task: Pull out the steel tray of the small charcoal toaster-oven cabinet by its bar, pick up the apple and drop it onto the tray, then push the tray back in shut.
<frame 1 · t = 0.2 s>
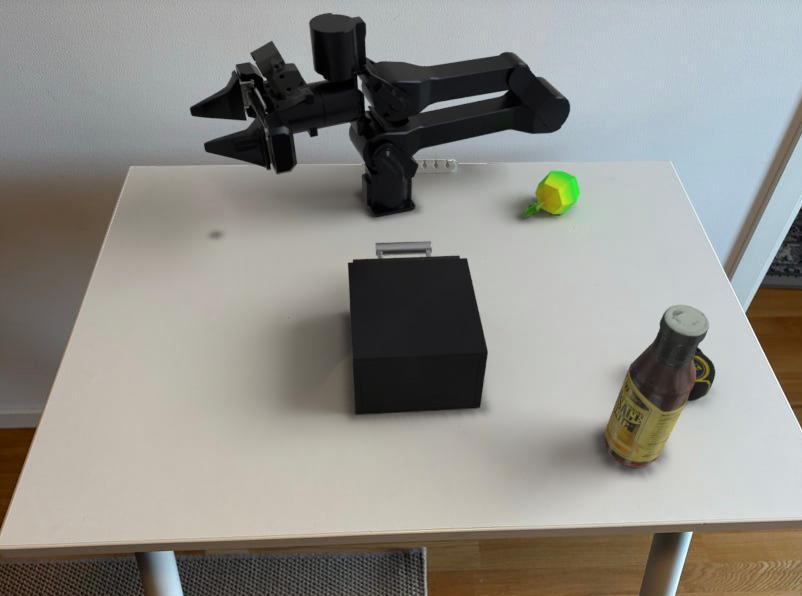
hand: (197, 129, 92), 17 cm above the table, tool horizontal, fingers open, 9 cm apart
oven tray: (409, 306, 89), point 5 cm above the table, slide at 0.5 cm
tape measure: (672, 382, 88), on the table
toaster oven: (411, 361, 89), on the table
sauce bottle: (630, 450, 81), on the table
apple: (550, 213, 111), on the table
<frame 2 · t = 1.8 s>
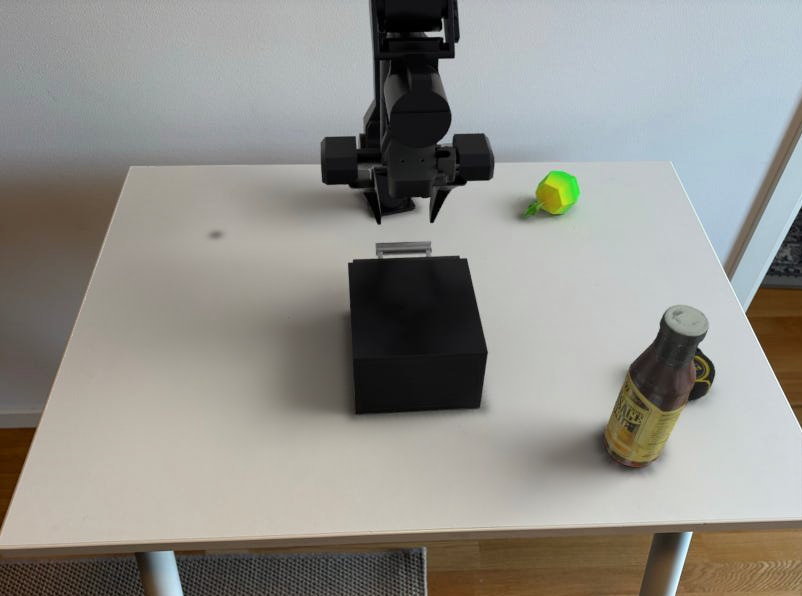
hand: (405, 222, 88), 12 cm above the table, tool pointing down, fingers open, 6 cm apart
nothing on the table moved.
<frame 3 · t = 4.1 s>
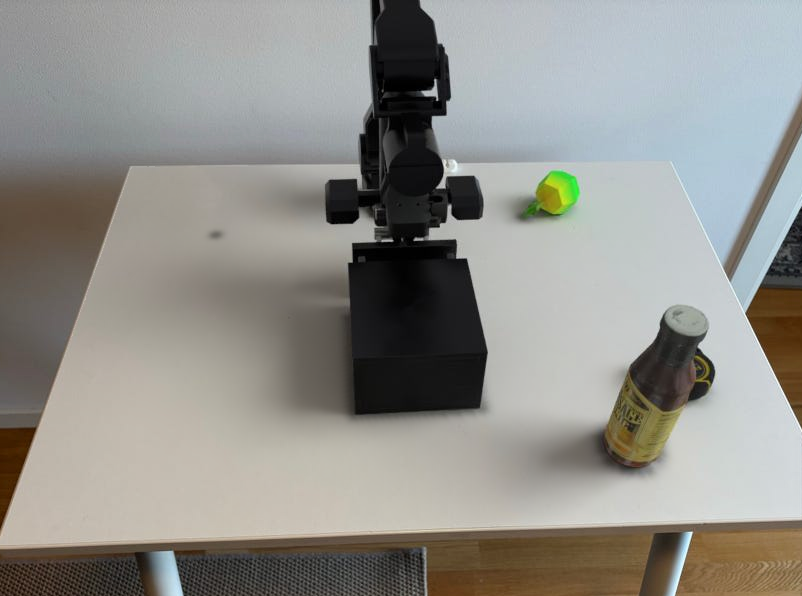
hand: (402, 254, 96), 4 cm above the table, tool pointing down, fingers closed, pressing on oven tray
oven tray: (407, 289, 91), point 5 cm above the table, slide at 3.7 cm, touching gripper
everything else where it was.
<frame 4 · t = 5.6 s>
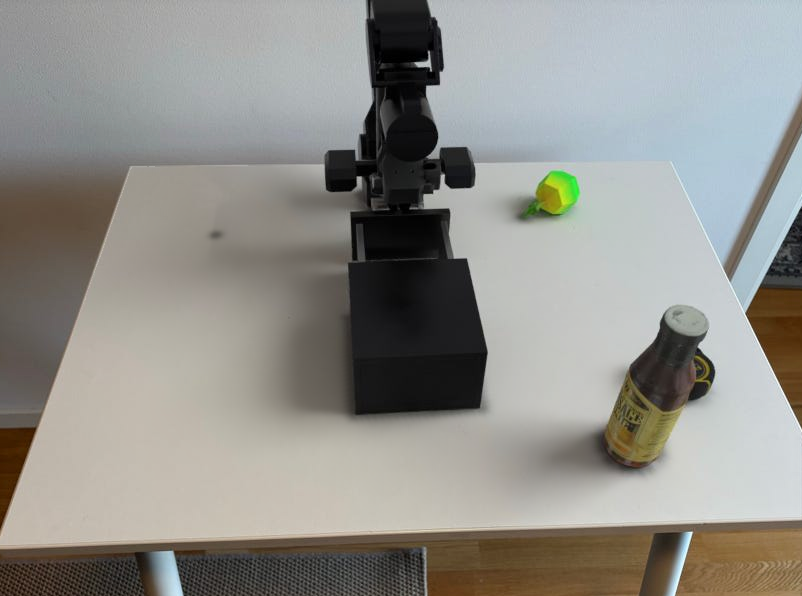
hand: (398, 224, 100), 4 cm above the table, tool pointing down, fingers closed, pressing on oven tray
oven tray: (402, 255, 95), point 5 cm above the table, slide at 10.3 cm, touching gripper
everything else where it was.
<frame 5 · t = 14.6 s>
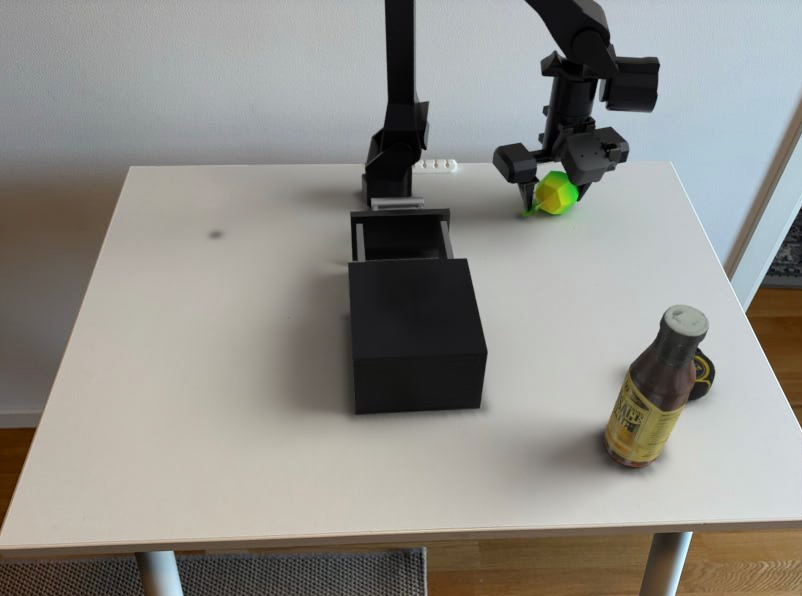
hand: (552, 205, 110), 1 cm above the table, tool pointing down, fingers closed on apple, 8 cm apart
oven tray: (402, 255, 95), point 5 cm above the table, slide at 10.3 cm
apple: (549, 213, 111), on the table, touching gripper
everything else where it was.
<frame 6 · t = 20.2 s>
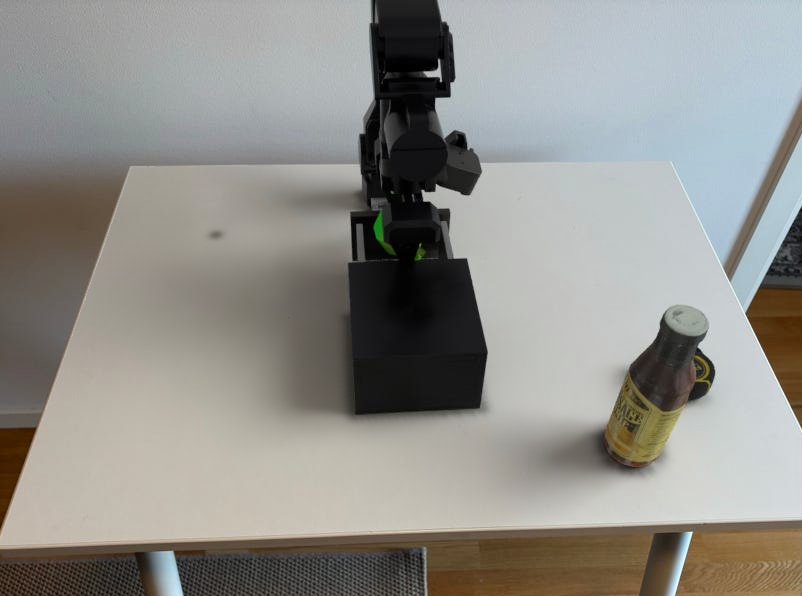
hand: (404, 244, 92), 7 cm above the table, tool pointing down, fingers closed on apple, 8 cm apart
apple: (404, 254, 93), point 6 cm above the table, touching gripper
everything else where it was.
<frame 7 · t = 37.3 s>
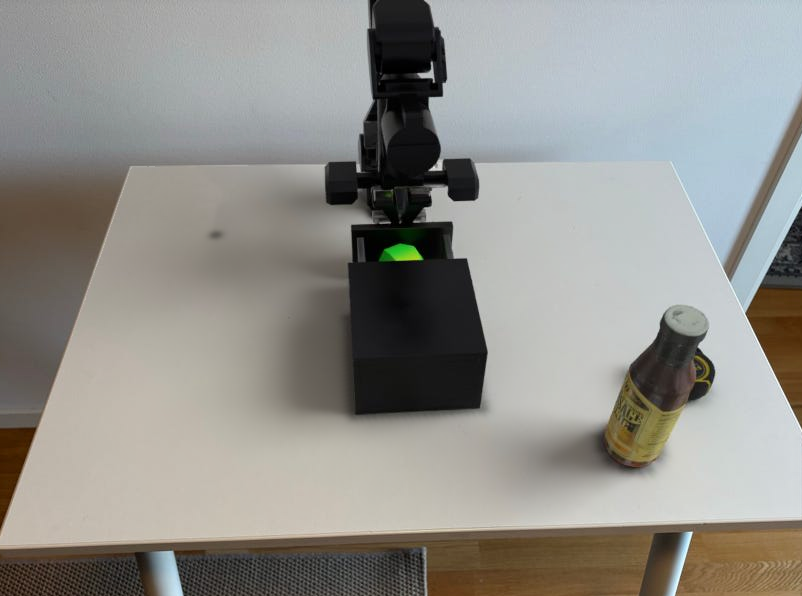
hand: (400, 236, 98), 5 cm above the table, tool pointing down, fingers closed, pressing on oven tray
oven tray: (404, 269, 93), point 5 cm above the table, slide at 7.4 cm, touching apple, gripper
apple: (406, 293, 95), point 2 cm above the table, touching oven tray
everything else where it was.
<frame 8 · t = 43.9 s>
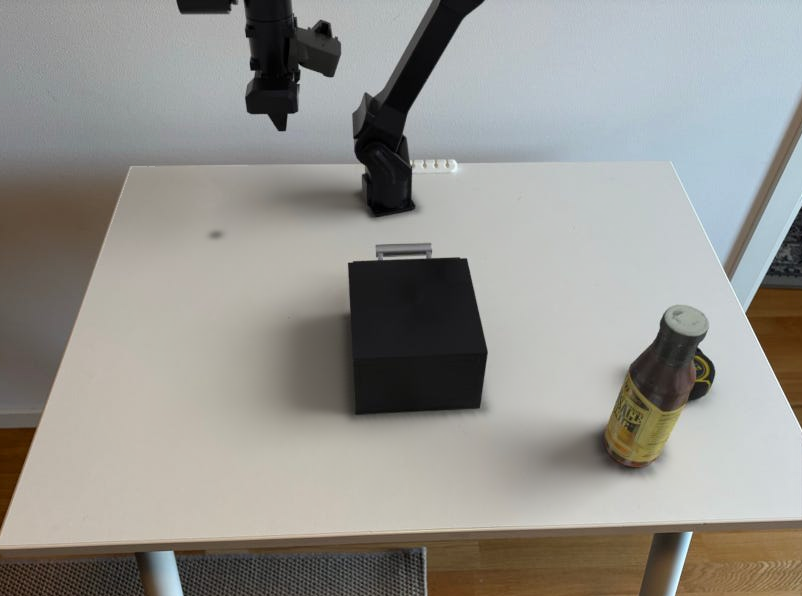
hand: (282, 130, 102), 12 cm above the table, tool pointing down, fingers closed
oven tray: (409, 308, 89), point 5 cm above the table, slide at 0.2 cm, touching apple
apple: (412, 333, 90), point 2 cm above the table, touching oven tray
everything else where it was.
at the end: apple inside the target area in the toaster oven (2.9 cm from its centre), point 1.8 cm above the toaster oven's base; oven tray slide at 0.2 cm; the gripper is holding nothing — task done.
